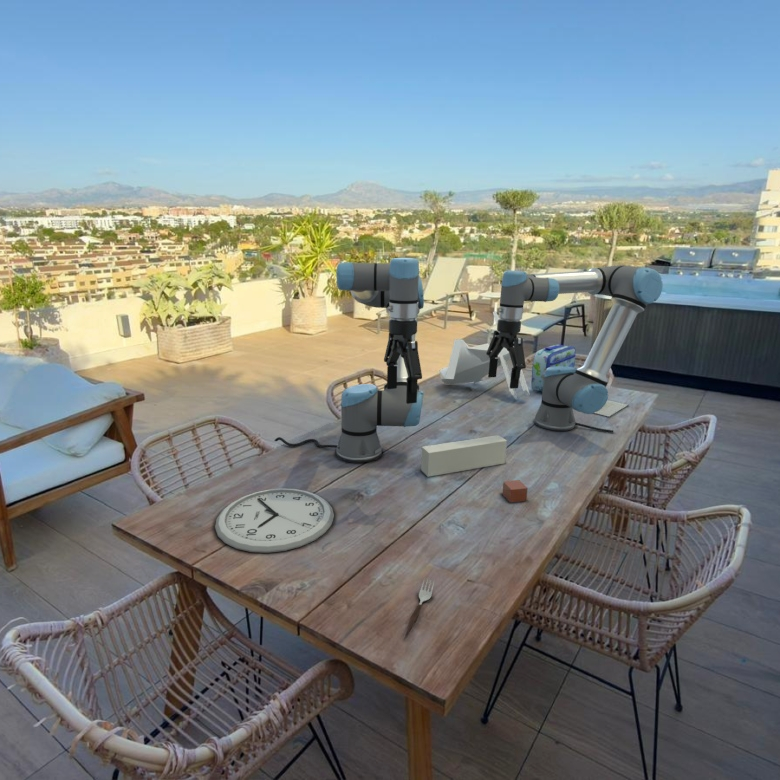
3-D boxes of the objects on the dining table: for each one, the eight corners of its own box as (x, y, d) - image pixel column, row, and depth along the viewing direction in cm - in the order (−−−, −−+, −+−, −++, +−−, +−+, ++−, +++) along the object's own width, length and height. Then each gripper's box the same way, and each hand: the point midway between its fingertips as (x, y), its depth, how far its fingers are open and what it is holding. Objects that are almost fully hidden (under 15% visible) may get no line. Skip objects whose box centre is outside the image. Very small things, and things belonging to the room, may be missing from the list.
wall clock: (332, 544, 122) (200, 548, 120) (332, 550, 123) (201, 555, 120) (334, 484, 151) (228, 486, 148) (334, 489, 151) (228, 491, 149)
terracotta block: (518, 492, 152) (519, 479, 150) (526, 500, 147) (527, 488, 146) (502, 494, 151) (503, 481, 149) (509, 502, 146) (511, 489, 145)
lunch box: (547, 397, 237) (552, 352, 231) (526, 391, 245) (531, 348, 238) (574, 386, 255) (580, 344, 249) (554, 381, 262) (559, 340, 256)
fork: (398, 636, 97) (399, 628, 97) (423, 584, 111) (423, 576, 111) (412, 640, 96) (412, 631, 96) (435, 587, 111) (435, 579, 110)
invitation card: (608, 416, 214) (573, 407, 224) (608, 416, 214) (573, 408, 224) (628, 404, 229) (594, 396, 238) (628, 405, 229) (594, 397, 238)
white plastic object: (461, 429, 252) (437, 405, 227) (444, 352, 274) (420, 323, 250) (535, 404, 240) (518, 377, 215) (510, 326, 262) (492, 293, 237)
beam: (496, 457, 175) (498, 435, 172) (505, 463, 170) (507, 440, 168) (420, 470, 164) (421, 446, 162) (427, 476, 160) (428, 452, 158)
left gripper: (373, 312, 147) (372, 384, 153) (409, 327, 125) (407, 411, 131) (397, 310, 150) (396, 381, 156) (437, 326, 128) (433, 408, 134)
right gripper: (480, 313, 179) (474, 373, 186) (521, 326, 157) (513, 393, 163) (499, 313, 182) (493, 372, 188) (542, 326, 160) (533, 392, 166)
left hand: (401, 395), depth 144 cm, fingers open, 13 cm apart
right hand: (502, 382), depth 176 cm, fingers open, 13 cm apart
